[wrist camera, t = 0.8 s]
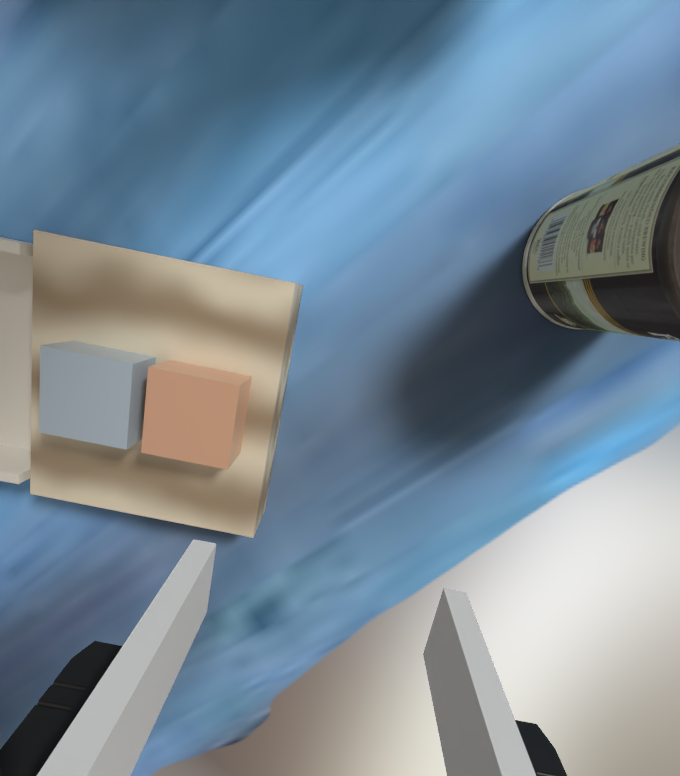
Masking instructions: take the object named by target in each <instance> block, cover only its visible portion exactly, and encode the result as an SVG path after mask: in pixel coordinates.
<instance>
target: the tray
mask: <svg viewBox="0 0 680 776" xmlns="http://www.w3.org/2000/svg"><path fill="white" fill-rule="evenodd" d="M32 299H33V243H29V242H24V241H19V240H14V239H9V238H4V237H0V481H4V482H9V483H14V484H20V483H22V482H24V481H26V480H27V479H29V478H30V465H31V382H32Z"/></svg>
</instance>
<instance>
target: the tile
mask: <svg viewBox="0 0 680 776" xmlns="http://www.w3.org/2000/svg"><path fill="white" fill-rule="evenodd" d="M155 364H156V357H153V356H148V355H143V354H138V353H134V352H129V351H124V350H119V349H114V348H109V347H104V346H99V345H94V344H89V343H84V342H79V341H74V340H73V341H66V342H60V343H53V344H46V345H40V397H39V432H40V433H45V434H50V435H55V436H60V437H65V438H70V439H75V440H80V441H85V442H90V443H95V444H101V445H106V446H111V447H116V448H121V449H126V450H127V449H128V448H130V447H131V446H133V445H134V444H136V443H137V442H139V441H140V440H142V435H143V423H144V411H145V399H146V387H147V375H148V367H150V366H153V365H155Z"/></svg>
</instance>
